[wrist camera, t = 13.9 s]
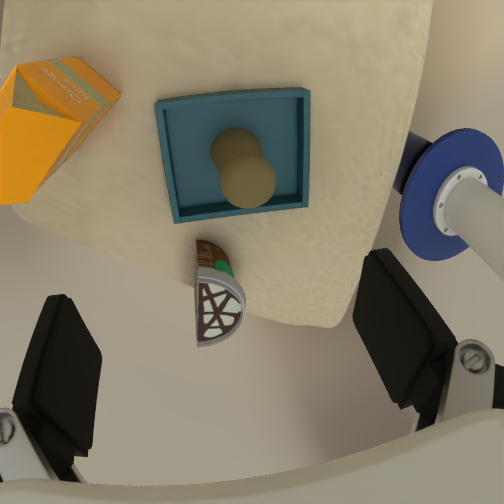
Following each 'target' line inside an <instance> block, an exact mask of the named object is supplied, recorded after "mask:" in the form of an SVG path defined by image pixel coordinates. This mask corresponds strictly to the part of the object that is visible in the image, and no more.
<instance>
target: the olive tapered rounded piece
mask: <svg viewBox="0 0 504 504" xmlns="http://www.w3.org/2000/svg"><path fill="white" fill-rule="evenodd" d="M211 158H212V161H213V164H214V165H215V167H216V168H217V170H218V171H219V173H220V174H221V175H220V187H221V190H222V193H223V195H224V196H225V197H226V199H227V200H228V201H229V202H230V203H232V204H233V205H235V206H236V207H240V208H244V209H248V208H255V207H258V206H261V205H262V204H264V203H265V202H267V201H268V200H269V199H270V198H271V196H272V195H273V193H274V191H275V188H276V174H275V170H274V169H273V167H272V166H271V164H270V163H269V161H267V160H266V159H265V158H263V154H262V149H261V145H260V141H259V140H258V138H257V137H256V135H255V134H254V133H252V132H251V131H250V130H247V129H244V128H241V127H234V128H230V129H226V130H224V131H223V132H221V133H220V134H218V136H217V137H216V138H215V139H214V141H213V143H212V146H211Z"/></svg>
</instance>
